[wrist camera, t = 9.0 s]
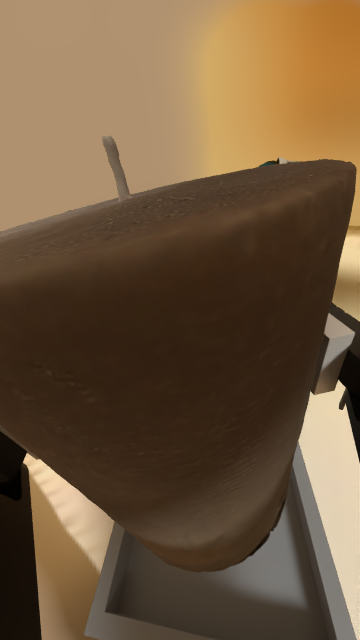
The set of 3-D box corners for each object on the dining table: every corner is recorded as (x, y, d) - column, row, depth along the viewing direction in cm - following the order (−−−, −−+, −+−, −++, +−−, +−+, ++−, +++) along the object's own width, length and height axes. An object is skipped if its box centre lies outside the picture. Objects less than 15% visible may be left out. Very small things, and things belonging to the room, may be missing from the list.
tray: (262, 338, 37) (263, 322, 35) (358, 701, 12) (379, 717, 10) (172, 343, 40) (168, 328, 38) (105, 633, 16) (83, 634, 14)
